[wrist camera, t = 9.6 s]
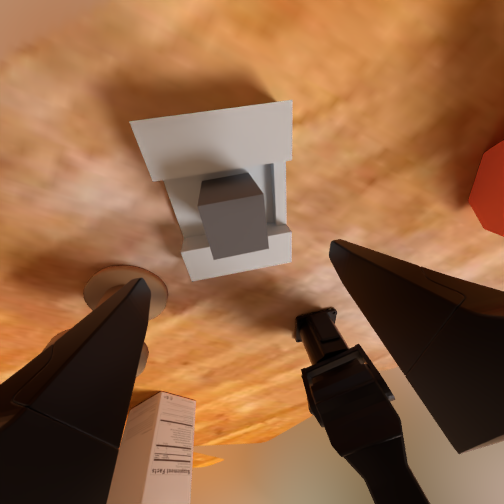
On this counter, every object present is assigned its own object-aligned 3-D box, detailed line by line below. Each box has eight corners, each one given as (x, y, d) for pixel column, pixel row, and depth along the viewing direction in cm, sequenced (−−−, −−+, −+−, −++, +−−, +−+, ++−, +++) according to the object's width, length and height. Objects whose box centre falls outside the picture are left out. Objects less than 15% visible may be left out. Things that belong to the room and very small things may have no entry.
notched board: (282, 246, 22) (291, 262, 20) (194, 262, 21) (192, 281, 19) (278, 103, 15) (292, 99, 12) (144, 121, 14) (129, 121, 11)
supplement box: (166, 417, 42) (148, 538, 30) (128, 409, 37) (88, 549, 25) (197, 400, 40) (191, 522, 28) (161, 389, 35) (135, 531, 23)
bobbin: (177, 308, 25) (164, 375, 18) (112, 322, 24) (75, 396, 18) (151, 258, 20) (123, 324, 14) (71, 273, 20) (0, 349, 13)
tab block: (254, 215, 19) (268, 248, 14) (213, 223, 19) (213, 260, 14) (248, 172, 17) (263, 193, 12) (201, 180, 16) (197, 206, 11)
